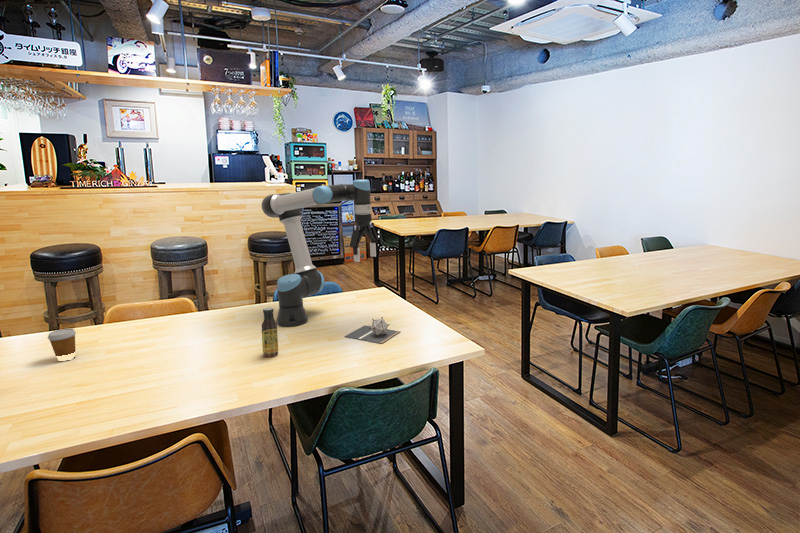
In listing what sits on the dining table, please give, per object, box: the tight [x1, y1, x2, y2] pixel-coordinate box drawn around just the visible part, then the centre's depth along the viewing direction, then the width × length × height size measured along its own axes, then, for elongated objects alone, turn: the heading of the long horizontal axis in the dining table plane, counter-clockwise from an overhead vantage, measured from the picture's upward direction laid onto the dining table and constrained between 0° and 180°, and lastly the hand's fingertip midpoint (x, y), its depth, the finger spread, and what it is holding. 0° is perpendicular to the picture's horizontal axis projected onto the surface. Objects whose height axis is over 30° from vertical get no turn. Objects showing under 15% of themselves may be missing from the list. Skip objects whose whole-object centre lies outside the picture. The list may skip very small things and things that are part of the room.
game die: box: [369, 316, 391, 337], centre depth 205 cm, size 9×8×10 cm
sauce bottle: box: [261, 307, 279, 358], centre depth 186 cm, size 7×6×20 cm
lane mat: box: [344, 325, 402, 345], centre depth 208 cm, size 20×16×1 cm
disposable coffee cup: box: [47, 328, 77, 357], centre depth 190 cm, size 10×10×12 cm
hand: (365, 259), depth 214 cm, fingers open, 13 cm apart
